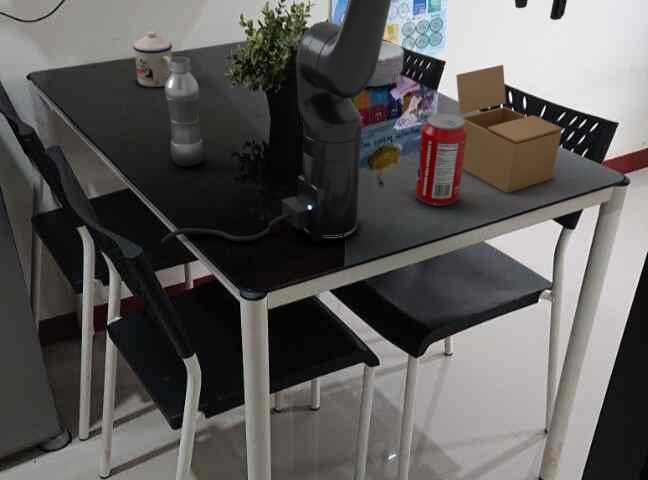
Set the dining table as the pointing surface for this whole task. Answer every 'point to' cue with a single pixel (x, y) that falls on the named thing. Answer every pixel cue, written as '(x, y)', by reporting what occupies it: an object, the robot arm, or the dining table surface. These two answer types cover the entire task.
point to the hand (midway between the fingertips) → (537, 13)
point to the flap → (481, 89)
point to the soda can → (441, 159)
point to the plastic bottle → (184, 113)
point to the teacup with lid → (153, 60)
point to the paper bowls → (387, 64)
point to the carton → (510, 148)
